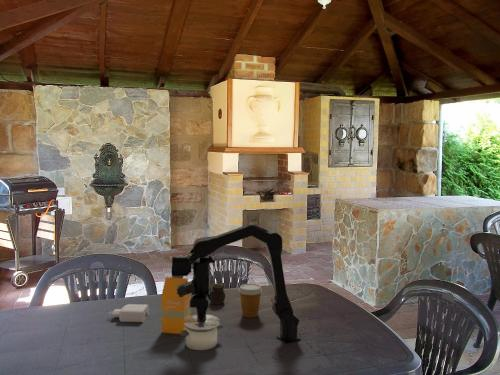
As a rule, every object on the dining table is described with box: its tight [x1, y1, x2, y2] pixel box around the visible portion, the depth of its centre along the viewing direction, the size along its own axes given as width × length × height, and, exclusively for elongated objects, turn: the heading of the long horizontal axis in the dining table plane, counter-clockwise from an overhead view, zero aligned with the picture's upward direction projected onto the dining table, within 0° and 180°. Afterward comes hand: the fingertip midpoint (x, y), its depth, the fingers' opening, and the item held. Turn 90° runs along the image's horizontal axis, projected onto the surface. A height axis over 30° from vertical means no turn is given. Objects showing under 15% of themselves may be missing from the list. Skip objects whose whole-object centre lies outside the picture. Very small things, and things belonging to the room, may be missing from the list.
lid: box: [184, 311, 220, 331], centre depth 160 cm, size 12×12×6 cm
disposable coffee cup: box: [238, 283, 263, 318], centre depth 188 cm, size 10×10×12 cm
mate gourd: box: [208, 281, 227, 305], centre depth 202 cm, size 7×8×10 cm
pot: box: [178, 322, 224, 351], centre depth 160 cm, size 11×16×6 cm
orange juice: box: [161, 276, 192, 335], centre depth 172 cm, size 8×9×20 cm
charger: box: [108, 303, 150, 323], centre depth 184 cm, size 5×9×15 cm
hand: (201, 318), depth 160 cm, fingers closed on lid, 3 cm apart
